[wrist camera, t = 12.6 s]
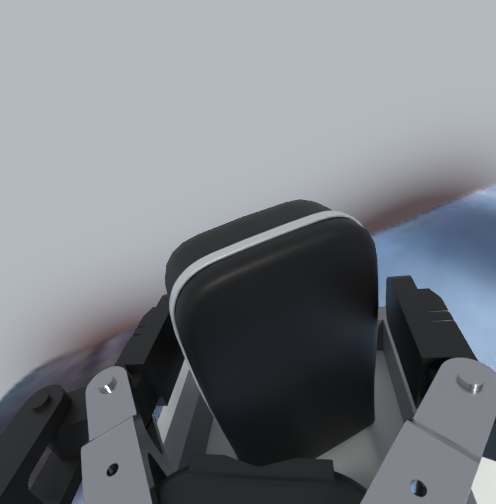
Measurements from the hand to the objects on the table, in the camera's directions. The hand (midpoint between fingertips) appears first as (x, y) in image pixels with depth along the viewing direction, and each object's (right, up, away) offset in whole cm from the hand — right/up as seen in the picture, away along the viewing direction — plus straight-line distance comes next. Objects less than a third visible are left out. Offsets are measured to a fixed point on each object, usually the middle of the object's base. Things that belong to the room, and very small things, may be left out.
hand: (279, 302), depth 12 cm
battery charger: (+1, -7, +3) cm, 8 cm away
